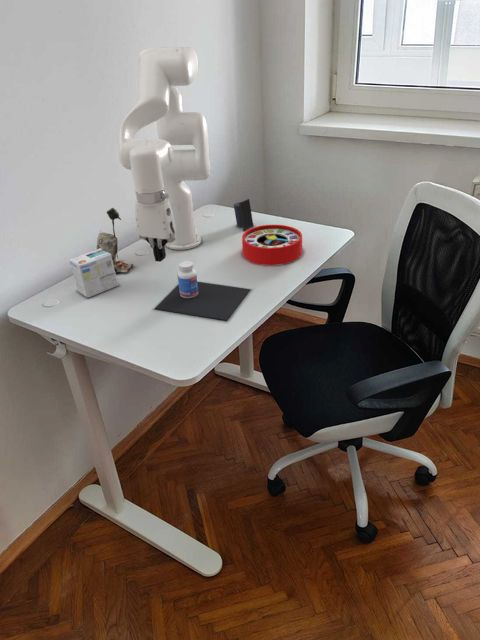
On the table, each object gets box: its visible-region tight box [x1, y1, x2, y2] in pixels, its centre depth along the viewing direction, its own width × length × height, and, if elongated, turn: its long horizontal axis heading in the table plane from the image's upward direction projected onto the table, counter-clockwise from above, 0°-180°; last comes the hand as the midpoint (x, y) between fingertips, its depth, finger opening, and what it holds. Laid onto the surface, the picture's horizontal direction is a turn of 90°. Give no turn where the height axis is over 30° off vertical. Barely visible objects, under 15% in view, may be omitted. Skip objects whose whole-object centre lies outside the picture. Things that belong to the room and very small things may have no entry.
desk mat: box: [154, 281, 251, 322], centre depth 151 cm, size 22×18×1 cm
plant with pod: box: [96, 207, 134, 274], centre depth 163 cm, size 8×11×20 cm
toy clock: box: [241, 224, 303, 266], centre depth 174 cm, size 20×6×20 cm
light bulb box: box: [68, 248, 119, 299], centre depth 155 cm, size 11×7×11 cm, turn 134°
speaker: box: [233, 198, 255, 232], centre depth 193 cm, size 8×6×10 cm
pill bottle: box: [176, 260, 198, 298], centre depth 150 cm, size 6×5×10 cm
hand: (160, 259), depth 149 cm, fingers closed
